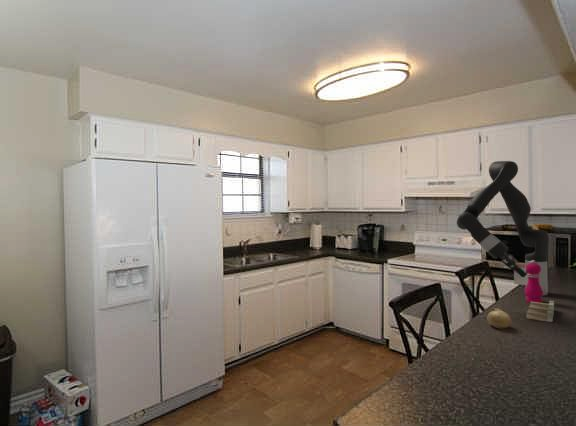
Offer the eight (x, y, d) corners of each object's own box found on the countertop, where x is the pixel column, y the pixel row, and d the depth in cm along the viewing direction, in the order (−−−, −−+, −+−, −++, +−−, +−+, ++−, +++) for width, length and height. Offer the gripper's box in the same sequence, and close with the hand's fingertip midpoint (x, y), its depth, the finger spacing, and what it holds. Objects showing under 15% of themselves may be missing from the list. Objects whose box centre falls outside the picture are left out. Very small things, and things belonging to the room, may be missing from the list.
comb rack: (530, 306, 156) (530, 298, 156) (554, 310, 150) (553, 301, 150) (526, 318, 142) (526, 308, 141) (552, 322, 136) (552, 312, 136)
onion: (513, 326, 134) (512, 308, 134) (508, 332, 128) (508, 313, 128) (489, 321, 139) (489, 304, 139) (485, 327, 133) (484, 309, 133)
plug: (515, 282, 154) (515, 262, 154) (526, 283, 152) (525, 263, 151) (514, 283, 151) (513, 263, 151) (525, 285, 149) (524, 264, 148)
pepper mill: (537, 299, 167) (536, 258, 166) (546, 303, 160) (546, 261, 159) (521, 299, 168) (520, 259, 167) (530, 303, 161) (529, 261, 160)
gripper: (497, 242, 150) (531, 272, 143) (502, 239, 161) (534, 267, 154) (483, 253, 154) (516, 283, 146) (490, 249, 165) (520, 277, 157)
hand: (525, 274), depth 150 cm, fingers closed on plug, 4 cm apart
